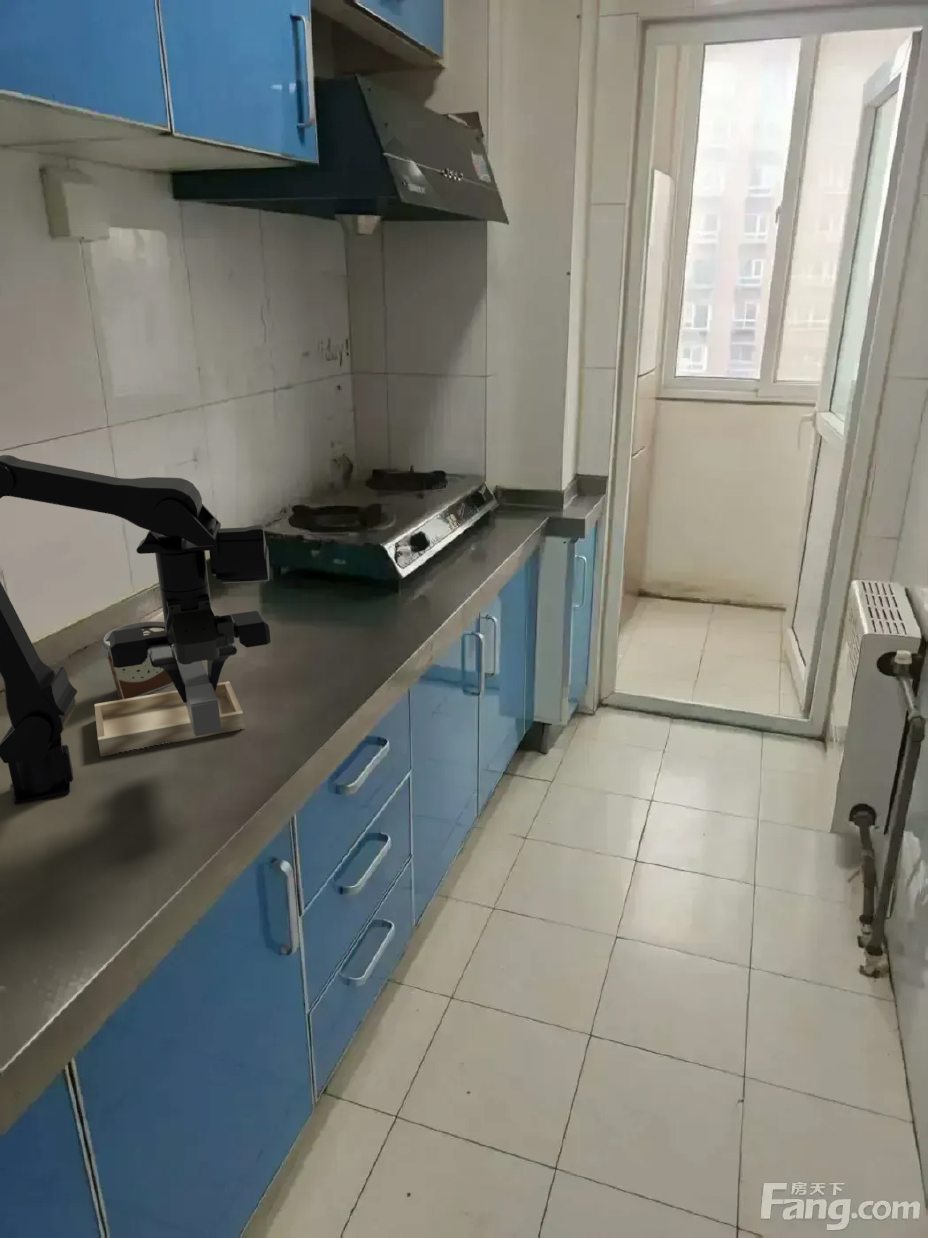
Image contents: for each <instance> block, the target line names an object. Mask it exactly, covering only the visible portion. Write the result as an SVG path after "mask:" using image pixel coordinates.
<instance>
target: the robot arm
mask: <svg viewBox="0 0 928 1238" xmlns="http://www.w3.org/2000/svg"><path fill="white" fill-rule="evenodd" d="M4 497H13V498H18V499H22V500H24V499H25V500H29V501H35V502H40V503H46V504H50V505H51V504H52V505H57V506H63V507H67V508H73V509H80V510H85V511H90V512H97V513H102V514H107V515H108V514H109V515H113V516H115V517H119V518H122V519H124V520H125V521H127V522H129V523H131V524H133V525H135V526H137V527H139V528H142V529H143V530H147V531H148V532H147V533H146V536H145V537H144V538H143V539H142V540H141V541H140V542H139V544H138V546H137V548H136V550H135V551H136V553H137V554H142V555H145V554H154V555H155V561H156V562H155V563H156V570H157V575H158V576H157V577H158V578H157V579H158V586H159V591H160V600H161V607H162V613H163V615H162V616H163V620H164V621H163V622H164V623H165V630H166V633H162V634H155V635H148V636H144V634H143V631H142V627H139V628H132V629H125V630H118V631H113V632H112V633H111V634H110V636H109V641H110V647H111V653H112V660H113V666H114V667H117V668H122V667H128V666H134V665H141V664H142V663H143V662H144V661H145V660H146V659H147V658H148V656H147V651H148V654H149V658H150V662H151V665H152V667H161V668H163V669H164V670H165V671H166V673H167V674H168V675H169V677H170V678H171V680H172V681H173V683H174V684H173V685H174V687H175V688H176V690H177V691H178V693H179V695H180V697H181V699H182V700H183V702H184V703H186V702H187V699H186V692H185V688H184V685H183V681H182V678H181V674H180V671H179V667H178V664H177V660H178V662H179V663H181V664H191V663H193V662H197V661H202V662H203V661H207V662H206V663H207V667H206V668H207V676H208V679H209V681H210V683H212V686H213V688H214V691H216V688H217V684H218V683H219V680H220V675H221V672H222V669H223V667H224V664H225V662H226V661H227V660H228V659H229V657H231V656H236V654H237V653H238V650H237V647H236V645H235V642H236V639H237V638H238V642H239V643H240V644H241V645H242V646H244V647H245V648H247V649H248V648H253V647H260V646H266V645H269V644H270V643H271V632H270V625H269V623H268V622H267V620H266V619H265V617H264V616H263V614H262V613H261V612H259V611H258V610H251V611H244V612H239V613H232V614H227V615H226V614H225V615H218V614H217V615H215V613H214V612H213V610H212V600H211V592H210V582H209V574H208V565H207V557H206V551H208V552H209V562H210V563H209V564H210V571H211V575H212V576H214V577H216V580H217V581H221V583H222V584H236V583H237V584H238V583H239V584H240V583H253V582H255V583H257V582H269V581H270V577H271V576H270V558H269V557H270V556H269V555H270V554H269V546H267V541H266V536H265V535H266V534H265V527H264V525H262V524H259V525H250V526H246V527H227V528H226V527H225V528H224V527H223V528H221V527H222V524H221V522H220V521H219V520H218V519H217V517H216V516H214V515H213V514H212V513H211V511H210V510H209V509H208V508H207V507H206V506H205V505H204V504H203V498H202V496H201V493H200V491H199V490H198V489H197V487H196V486H195V484H194V483H193V482H191V481H189V480H188V479H185V478H182V477H160V476H158V477H157V476H155V477H154V476H152V477H151V476H150V477H148V476H147V477H138V478H124V477H123V478H120V477H116V476H115V477H114V476H110V475H105V474H101V473H95V472H89V471H84V470H78V469H73V468H68V467H62V466H57V465H52V464H48V463H47V464H46V463H41V462H36V461H30V460H25V459H20V458H18V457H15V456H14V455H10V454H8V455H7V454H2V455H0V499H2V498H4ZM174 647H175V651H176V657H175V654H174V651H173V648H174ZM0 676H1V678H2V680H3V683H4V685H3V686H4V694H5V695H4V697H5V707H6V711H7V714H8V719H9V721H10V723H11V726H10V727H9V729H8V730H7V732H6V734H5V735H4V736H3V738H2V740H0V759H1V761H2V762H3V763H4V764H7V765H8V771H9V775H10V781H11V784H12V788H13V793H12V794H13V796H12V800H13V802H12V803H13V804H15V805H19V804H23V803H28V802H33V801H36V800H38V801H39V800H43V799H48V798H51V797H57V796H61V795H63V796H64V795H67V794H69V793H70V792H71V783H72V782H73V781H74V770H73V764H72V760H71V754H70V749H69V745H67V744H63V739H62V738H63V737H62V733H63V731H64V730H65V727H66V726H67V723H68V722H69V720H70V718H71V716H72V714H73V712H74V711H75V707H76V698H75V697H76V695H77V694H78V689H76V688H75V687H74V686H73V685H72V683H71V682H70V680H69V677H68V673H67V670H66V667H64V666H60V667H58V668H56V669H54V670H53V669H52V668H51V667H50V666H48V665H47V664H46V663H44V662H43V661H42V660H41V658H40V656H39V655H38V652H37V650H36V647H34V644H33V642H32V641H31V639H30V637H29V635H28V633H27V631H26V628H25V627H24V625H23V623H22V621H21V619H20V618H19V614H18V613H17V611H16V609H15V607H14V605H13V603H12V601H11V600H10V597H9V595H8V594H7V591H6V589H5V587H4V586H3V584H2V582H1V580H0Z"/></svg>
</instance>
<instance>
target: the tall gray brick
mask: <svg viewBox="0 0 928 1238" xmlns="http://www.w3.org/2000/svg"><path fill="white" fill-rule="evenodd" d="M176 660H177V659H176ZM177 664H178V667H179V671H180V674H181V678H182V681H183V685H184V688H185V692H186V699H187V702H186V703H185V704H186V707H187V710H188V714H189V719H190V722H191V725H192V729H193V732H194V735H196V736H200V735H205V734H211V733H216V732H221V722H220V713H219V705H218V699H217V696H216V693H215V691H214V688H213V686H212V683H210V681H209V679H208V672H207V671H206V669H205V667H204V663H203V661H197V662H193V663H191V664H181V663H179V662H178V660H177Z"/></svg>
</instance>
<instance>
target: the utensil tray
mask: <svg viewBox="0 0 928 1238" xmlns="http://www.w3.org/2000/svg"><path fill="white" fill-rule="evenodd" d="M215 693H216V696H217V699H218V705H219V713H220V722H221V732H216V733H211V734H205V735H200V736H196V735H194V732H193V729H192V725H191V722H190V719H189V714H188V710H187V707H186V704H185V703H184V702H183V700H182V699H181V697H180V695H179V693H178V691H177V689H176V690H170V691H164V692H157V693H153V694H152V693H150V694H145V695H143V696H139V697H133V698H128V699H122V700H120V699H117V700H112V701H111V700H110V701H105V702H99V703H95V704H94V713H95V714H94V715H95V723H96V733H97V734H96V735H97V742H98V743H97V744H98V749H99V754H100V757H106V756H111V755H116V754H119V753H118V752H122V753H125V752H124V751H127V752H129V751H128V750H131V749H137V750H140V749H139V748H142V749H145V748H144V747H147V748H149V747H148V746H153V745H158V744H162V743H166V742H167V743H168V744H170V743H169V742H173V743H177V742H183V741H189V740H194V739H198V738H204V737H208V736H213V735H215V736H216V735H219V734H223V733H224V734H225V733H229V732H234V731H235V732H236V731H241V730H244V729H245V718H244V712H243V709H242V707H241V705H240V703H239V700H238V698H237V696H236V694H235V691H234V689H233V687H232V685H231V683H230V681H228V680H227V681H223V682H222V681H221V682H218V684H217V688H216V691H215ZM240 729H241V730H240ZM158 746H159V745H158ZM153 747H154V746H153ZM115 753H116V754H115Z"/></svg>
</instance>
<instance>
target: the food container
mask: <svg viewBox="0 0 928 1238" xmlns="http://www.w3.org/2000/svg"><path fill="white" fill-rule="evenodd" d="M139 627H142V631H143V634H144V636H148V635H155V634H162V633H166V630H165V623H164V621H160V620H159V621H158V620H154V621H153V620H152V621H138V622H132V623H129V624H124V625H122V626H119V627H117V628H114V629H111V630H110V631H109V632H107V633H106V634H105V635H104V637H103V640H102V643H101V655H102V656H103V658H105V659H106V660H108V663H109V666H110V670H111V674H112V676H113V682H114V685H115V689H116V692H117V694H118V698H119V699H118V700H122V699H128V698H133V697H139V696H145V695H149V694H152V693H153V692H156V691H159V690H161V689H163V688H167V687H168V686H171V685H174V683H173V681H172V680H171V678H170V677H169V675H168V674H167V673H166V671H165V670H164V669H163V668H161V667H152V665H151V662H150V658H149V654H148V651H147V656H148V658H147V659H146V660H145V661H144V662H143V663H142V664H141V665H134V666H128V667H122V668H117V667H114V666H113V660H112V653H111V647H110V641H109V636H110V634H111V633H112V632H113V631H118V630H125V629H132V628H139ZM173 651H174V654H175V657H176V658H177V656H176V651H175V647H174V648H173Z"/></svg>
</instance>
